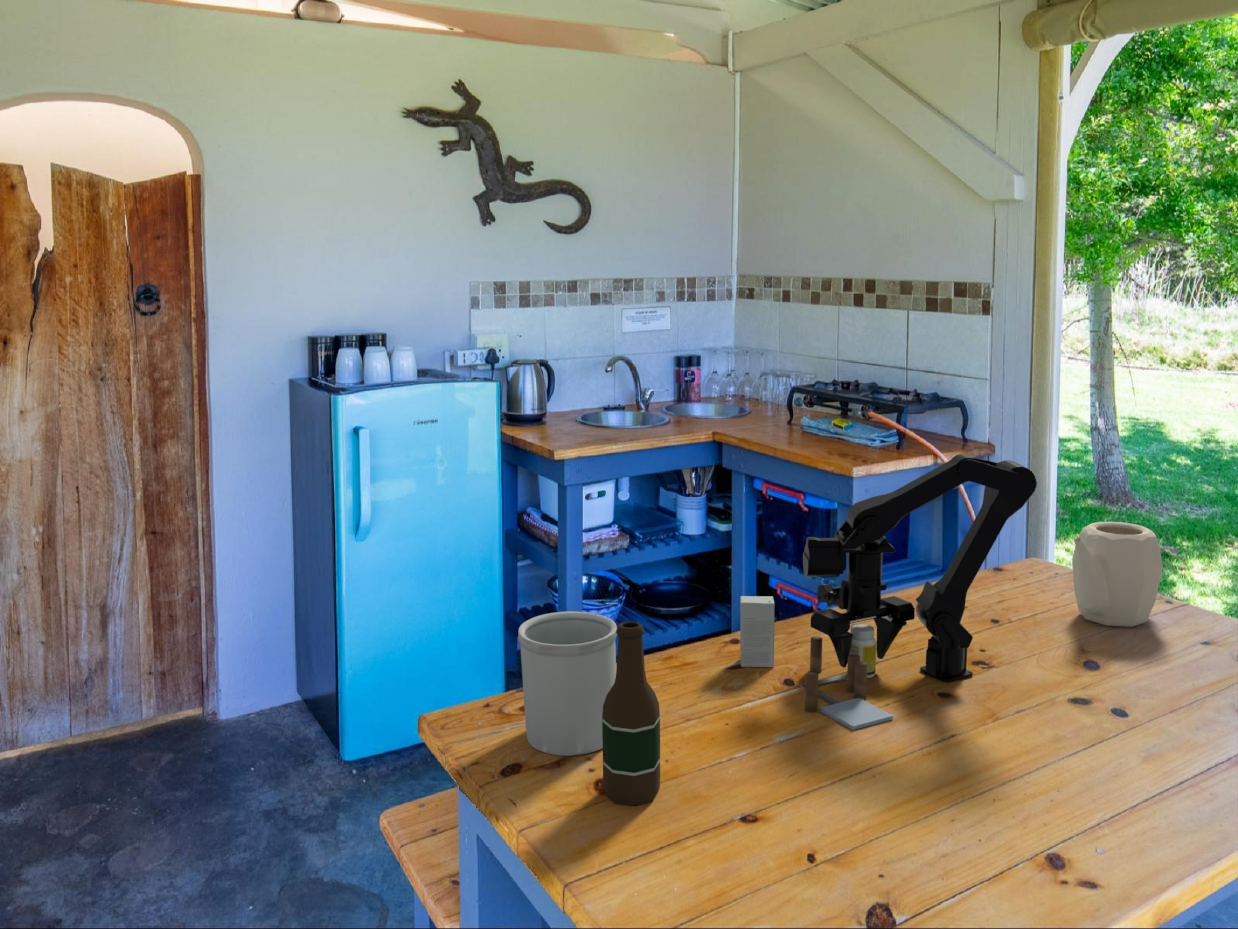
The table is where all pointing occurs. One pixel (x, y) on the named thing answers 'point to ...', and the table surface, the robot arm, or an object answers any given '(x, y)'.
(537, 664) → the utensil holder
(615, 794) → the beer bottle
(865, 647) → the supplement bottle
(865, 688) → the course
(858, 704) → the pad
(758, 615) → the skincare box
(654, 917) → the table surface
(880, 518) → the robot arm
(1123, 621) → the faceted clay vase
